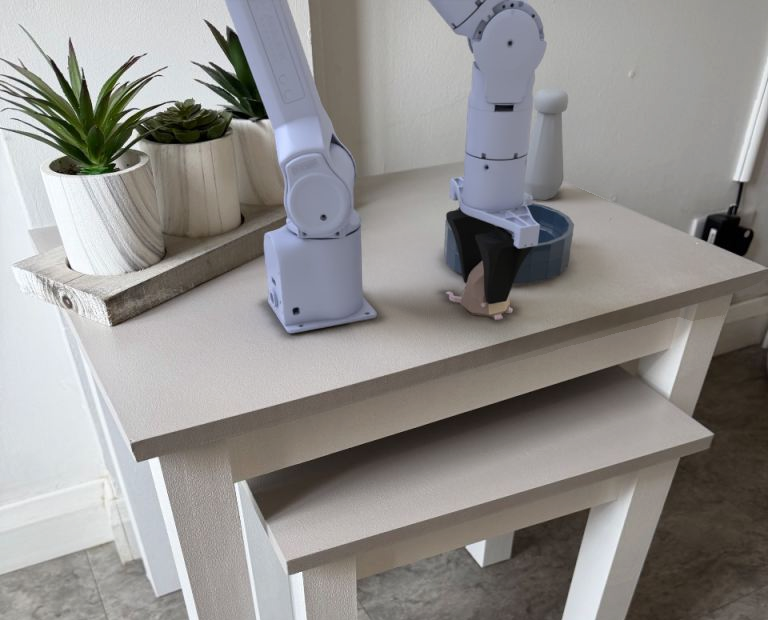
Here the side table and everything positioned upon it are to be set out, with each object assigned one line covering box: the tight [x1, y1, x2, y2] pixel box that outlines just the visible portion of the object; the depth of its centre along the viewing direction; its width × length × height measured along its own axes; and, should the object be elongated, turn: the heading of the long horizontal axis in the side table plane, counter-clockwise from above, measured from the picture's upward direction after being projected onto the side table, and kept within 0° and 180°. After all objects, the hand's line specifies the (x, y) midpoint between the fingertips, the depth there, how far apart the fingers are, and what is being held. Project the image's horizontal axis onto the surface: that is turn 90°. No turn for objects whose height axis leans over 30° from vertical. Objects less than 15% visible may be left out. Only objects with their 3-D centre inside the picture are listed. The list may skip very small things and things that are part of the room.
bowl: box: [443, 202, 575, 285], centre depth 90 cm, size 14×14×4 cm
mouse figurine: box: [445, 261, 514, 321], centre depth 81 cm, size 5×8×7 cm, turn 48°
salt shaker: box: [524, 87, 569, 201], centre depth 104 cm, size 6×6×13 cm
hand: (485, 291), depth 81 cm, fingers closed on mouse figurine, 4 cm apart
